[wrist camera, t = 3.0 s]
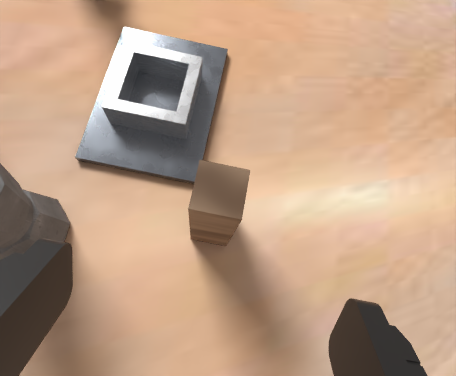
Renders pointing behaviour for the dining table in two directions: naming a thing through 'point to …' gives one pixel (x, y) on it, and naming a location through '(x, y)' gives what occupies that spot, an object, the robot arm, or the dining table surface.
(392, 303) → the dining table surface
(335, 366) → the robot arm
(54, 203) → the coffeepot
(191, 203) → the walnut post
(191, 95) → the keeper cradle
